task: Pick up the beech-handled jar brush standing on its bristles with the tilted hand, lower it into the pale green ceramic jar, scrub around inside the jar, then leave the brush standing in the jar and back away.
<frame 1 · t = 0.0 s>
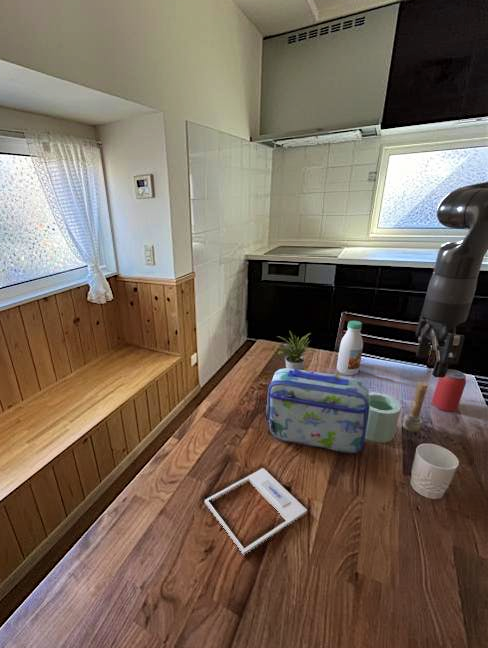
hand: (429, 366, 74), 29 cm above the table, tool pointing down, fingers open, 8 cm apart
jar: (373, 430, 98), on the table
photo frame: (254, 508, 77), on the table
house plant: (294, 371, 131), on the table
beer can: (443, 406, 107), on the table
brush: (411, 426, 99), on the table
white cup: (426, 488, 80), on the table
lunch box: (311, 438, 97), on the table
milk bottle: (347, 371, 129), on the table
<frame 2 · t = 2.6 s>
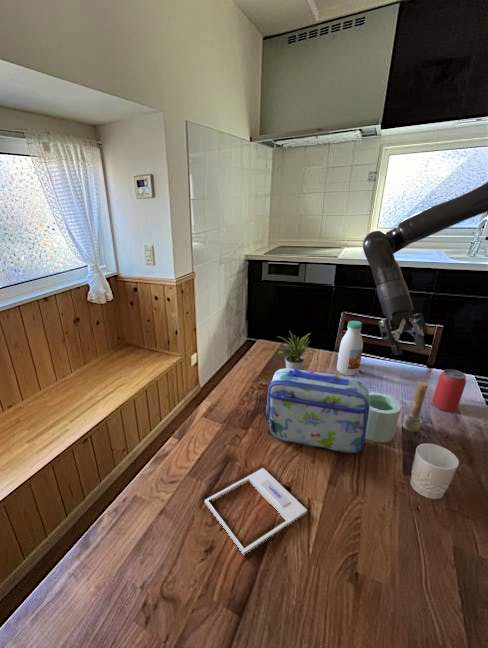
hand: (410, 352, 95), 22 cm above the table, tool tilted 35°, fingers open, 8 cm apart
nothing on the table moved.
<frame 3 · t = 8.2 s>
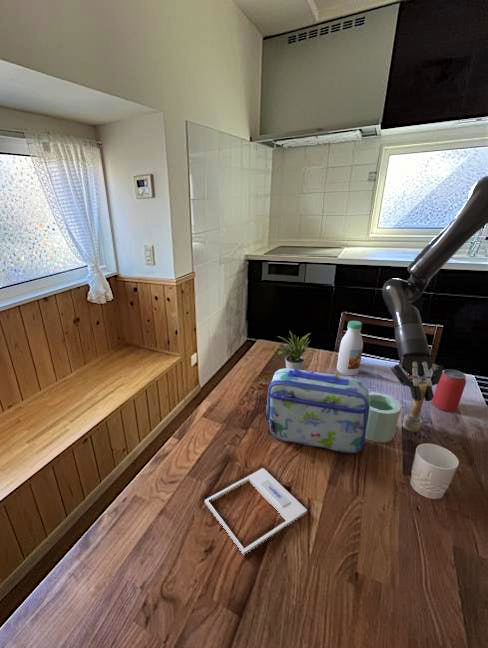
hand: (423, 400, 92), 11 cm above the table, tool tilted 45°, fingers closed on brush, 2 cm apart
brush: (411, 426, 99), on the table, touching gripper
everything else where it was.
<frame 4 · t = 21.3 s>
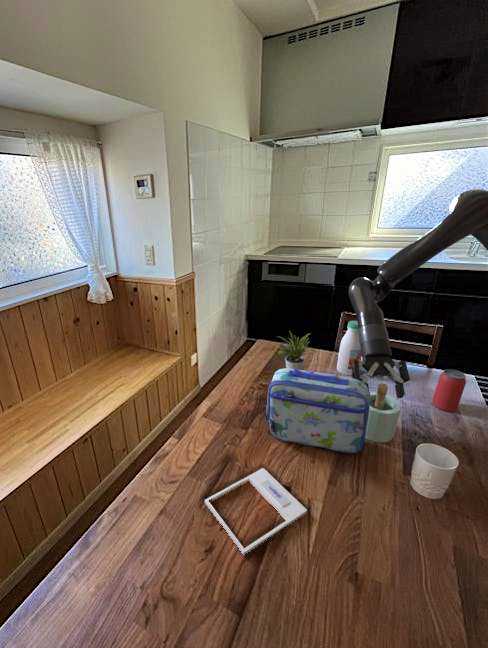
hand: (383, 397, 92), 13 cm above the table, tool tilted 45°, fingers open, 8 cm apart
brush: (373, 428, 98), point 1 cm above the table, touching jar
everything else where it was.
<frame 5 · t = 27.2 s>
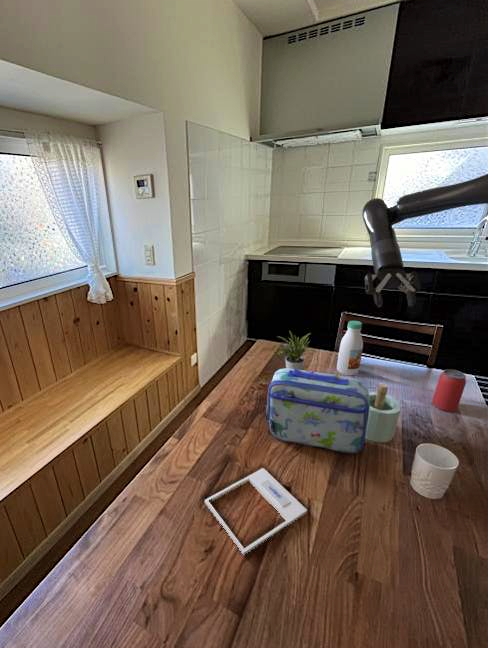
hand: (396, 305, 97), 34 cm above the table, tool tilted 45°, fingers open, 8 cm apart
nothing on the table moved.
at the end: brush 0.1 cm off-centre in the jar, point 0.6 cm above the jar's base; the gripper is holding nothing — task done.
